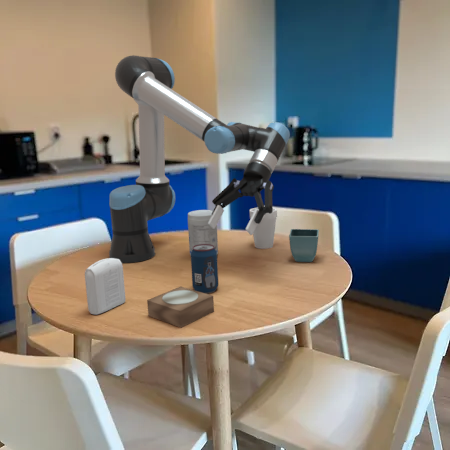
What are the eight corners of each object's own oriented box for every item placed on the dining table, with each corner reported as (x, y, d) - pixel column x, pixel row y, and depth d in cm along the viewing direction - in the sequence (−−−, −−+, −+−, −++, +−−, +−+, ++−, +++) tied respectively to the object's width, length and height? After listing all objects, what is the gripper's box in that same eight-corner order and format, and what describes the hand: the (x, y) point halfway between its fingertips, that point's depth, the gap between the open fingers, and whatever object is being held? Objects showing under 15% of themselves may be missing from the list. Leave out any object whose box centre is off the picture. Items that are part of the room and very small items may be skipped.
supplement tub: (191, 252, 165) (188, 210, 162) (218, 251, 165) (216, 209, 162) (188, 260, 156) (186, 216, 152) (218, 259, 156) (216, 215, 152)
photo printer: (116, 299, 126) (112, 253, 123) (128, 302, 123) (124, 255, 120) (85, 313, 117) (80, 264, 114) (98, 316, 115) (92, 267, 112)
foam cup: (278, 249, 164) (277, 212, 161) (251, 250, 164) (250, 213, 161) (275, 242, 173) (275, 206, 170) (250, 243, 173) (249, 207, 170)
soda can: (201, 283, 134) (199, 242, 131) (223, 287, 131) (221, 244, 128) (187, 292, 128) (185, 248, 126) (209, 296, 125) (207, 251, 122)
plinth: (148, 315, 114) (147, 298, 113) (181, 301, 122) (180, 285, 121) (181, 327, 107) (179, 309, 106) (214, 311, 115) (213, 294, 114)
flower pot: (318, 264, 146) (318, 236, 144) (289, 264, 148) (288, 235, 146) (318, 256, 155) (318, 229, 153) (291, 255, 157) (290, 228, 155)
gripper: (301, 178, 136) (272, 242, 128) (233, 174, 152) (203, 230, 144) (291, 162, 131) (259, 227, 123) (221, 159, 147) (190, 216, 139)
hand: (229, 229), depth 134 cm, fingers open, 13 cm apart
